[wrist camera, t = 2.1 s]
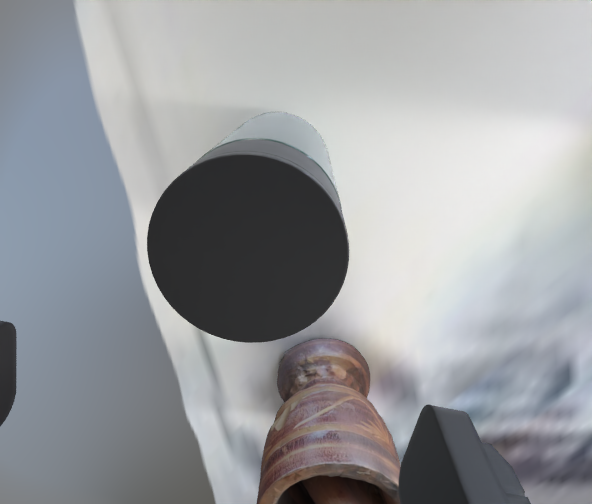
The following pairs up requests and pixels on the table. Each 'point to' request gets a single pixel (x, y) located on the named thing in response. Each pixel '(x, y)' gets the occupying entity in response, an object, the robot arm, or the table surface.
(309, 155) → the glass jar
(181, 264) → the lid
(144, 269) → the table surface
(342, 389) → the mortar and pestle
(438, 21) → the table surface
